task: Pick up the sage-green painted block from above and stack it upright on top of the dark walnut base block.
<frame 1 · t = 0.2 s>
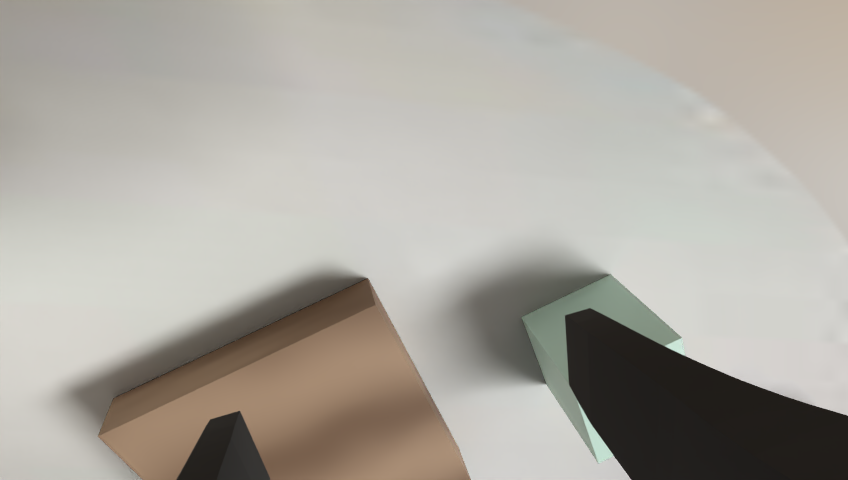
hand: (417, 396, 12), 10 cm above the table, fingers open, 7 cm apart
sage block: (576, 330, 25), on the table
walnut base: (306, 426, 24), on the table
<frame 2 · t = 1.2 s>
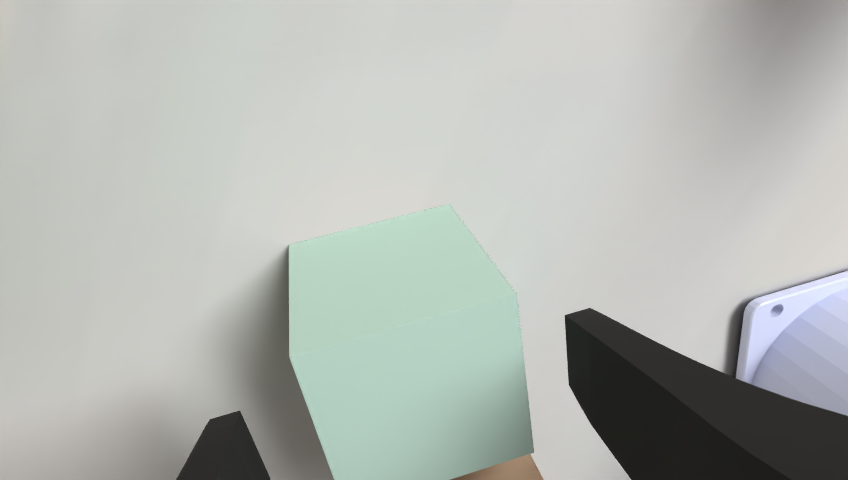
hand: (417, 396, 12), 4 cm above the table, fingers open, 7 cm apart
sage block: (386, 291, 16), on the table
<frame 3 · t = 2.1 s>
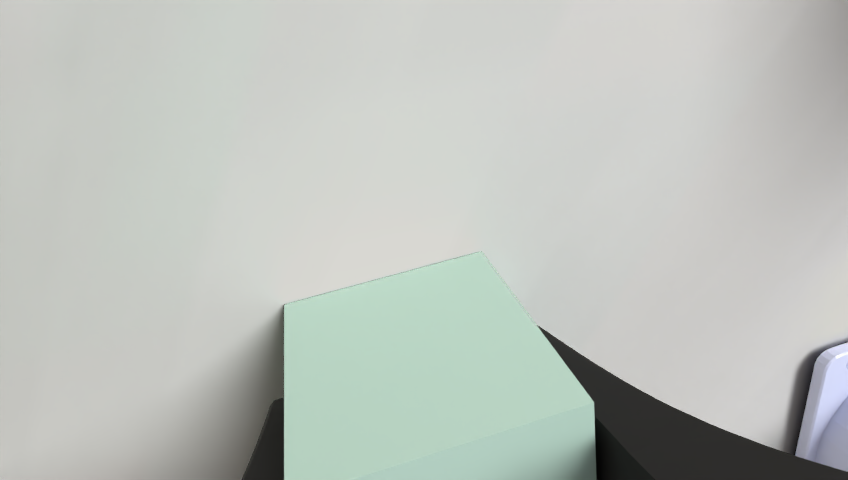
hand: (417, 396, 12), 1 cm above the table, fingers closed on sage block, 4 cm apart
sage block: (404, 356, 13), on the table, touching gripper
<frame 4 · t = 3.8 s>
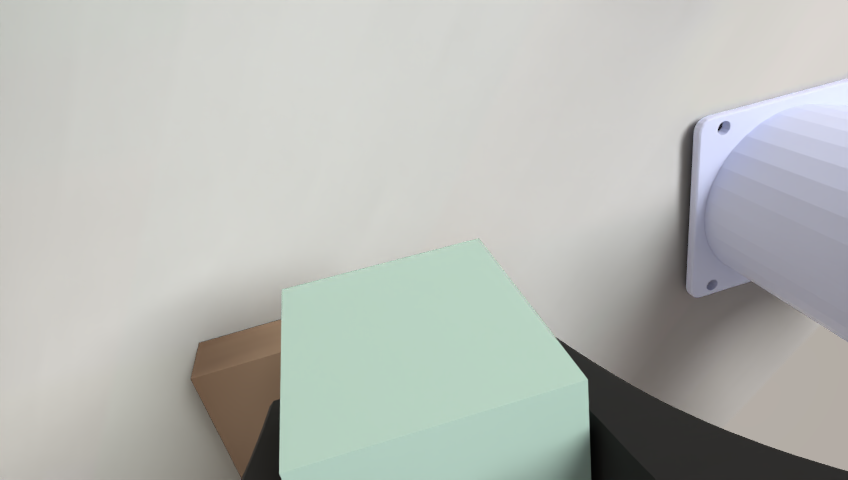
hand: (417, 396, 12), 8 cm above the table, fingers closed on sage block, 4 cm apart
sage block: (401, 343, 13), point 7 cm above the table, touching gripper
walnut base: (381, 407, 22), on the table
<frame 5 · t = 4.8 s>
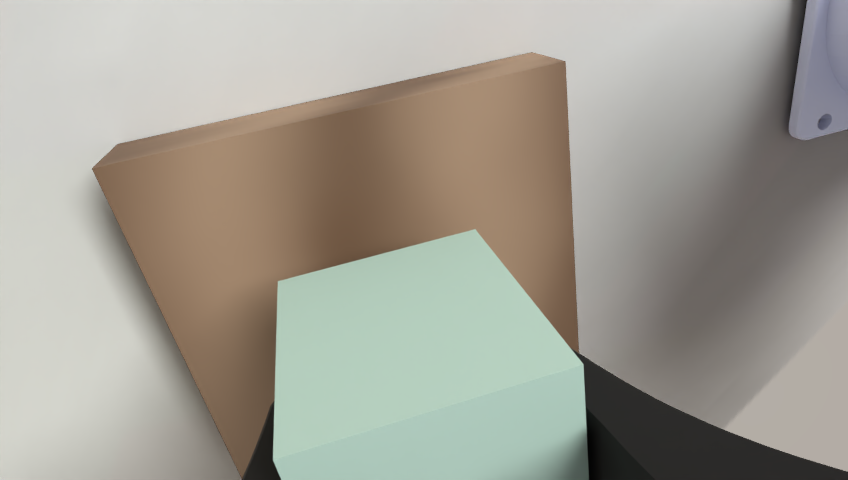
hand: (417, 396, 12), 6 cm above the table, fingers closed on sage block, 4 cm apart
sage block: (398, 335, 13), point 4 cm above the table, touching gripper
walnut base: (378, 273, 17), on the table
when the fingers open (5 cm above the table, at t = 5.4 s): sage block drops 1 cm, resting on walnut base.
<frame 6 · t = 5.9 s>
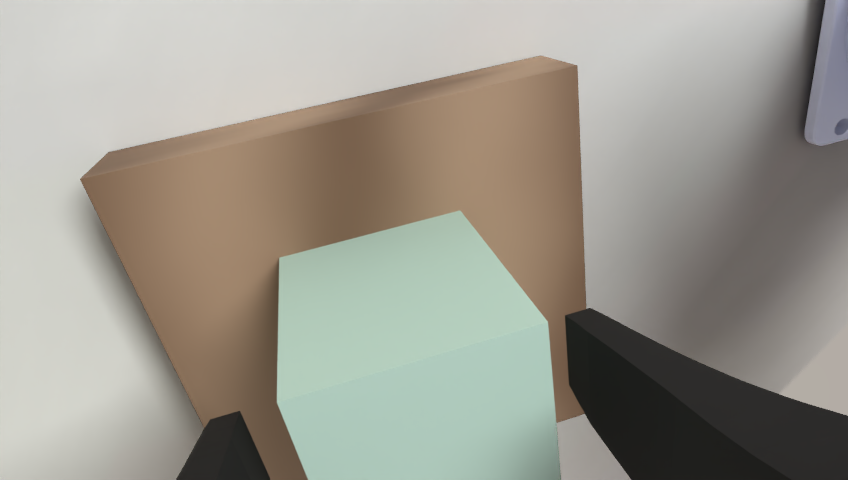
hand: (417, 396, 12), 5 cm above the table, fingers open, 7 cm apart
sage block: (390, 309, 14), point 2 cm above the table, touching walnut base
walnut base: (381, 285, 16), on the table
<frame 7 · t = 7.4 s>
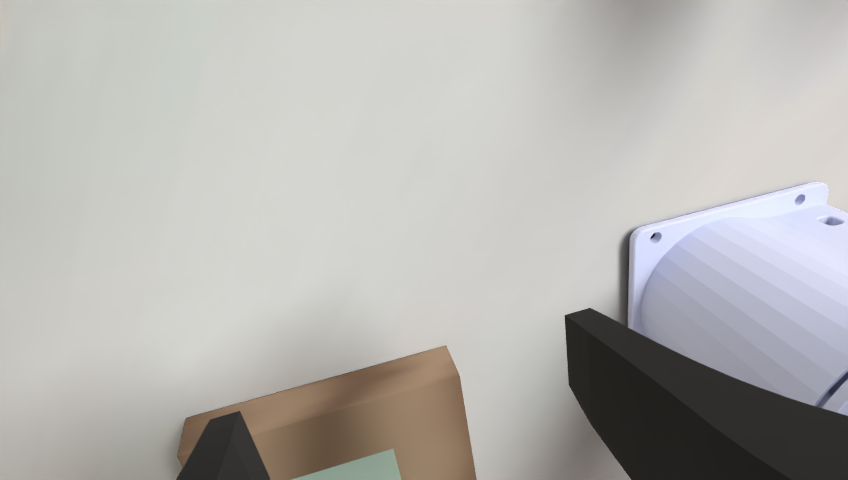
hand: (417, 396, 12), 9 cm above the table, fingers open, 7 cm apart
walnut base: (349, 470, 25), on the table
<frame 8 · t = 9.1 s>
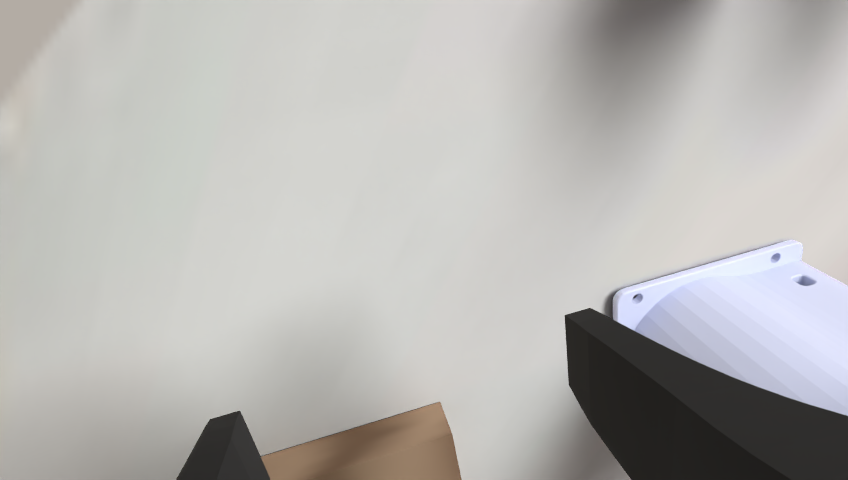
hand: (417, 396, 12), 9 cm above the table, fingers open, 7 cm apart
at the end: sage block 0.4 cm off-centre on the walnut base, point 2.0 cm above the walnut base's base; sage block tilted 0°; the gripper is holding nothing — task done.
